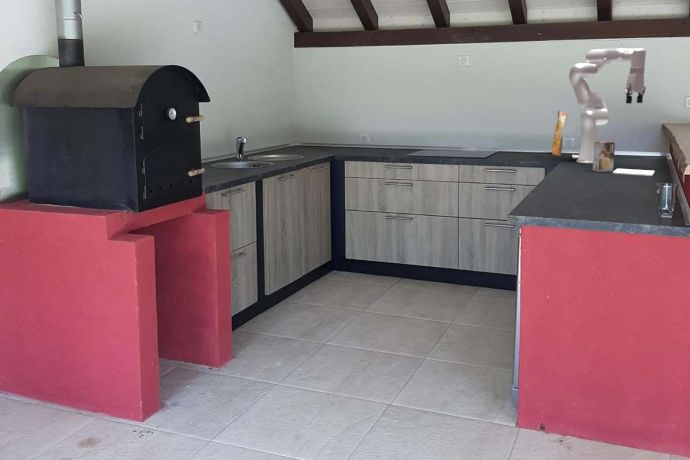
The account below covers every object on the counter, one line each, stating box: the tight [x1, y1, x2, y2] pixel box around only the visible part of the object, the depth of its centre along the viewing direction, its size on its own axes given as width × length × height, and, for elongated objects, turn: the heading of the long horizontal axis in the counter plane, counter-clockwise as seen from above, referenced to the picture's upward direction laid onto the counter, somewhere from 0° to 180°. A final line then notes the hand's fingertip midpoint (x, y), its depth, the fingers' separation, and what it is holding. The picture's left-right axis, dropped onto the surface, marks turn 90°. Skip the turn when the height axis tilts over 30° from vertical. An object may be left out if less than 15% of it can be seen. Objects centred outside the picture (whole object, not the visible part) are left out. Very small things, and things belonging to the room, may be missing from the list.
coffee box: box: [592, 141, 616, 173], centre depth 403 cm, size 9×6×16 cm
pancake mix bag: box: [551, 110, 568, 156], centre depth 481 cm, size 7×19×28 cm, turn 173°
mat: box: [612, 168, 655, 177], centre depth 397 cm, size 20×16×1 cm
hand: (634, 103), depth 406 cm, fingers open, 9 cm apart
